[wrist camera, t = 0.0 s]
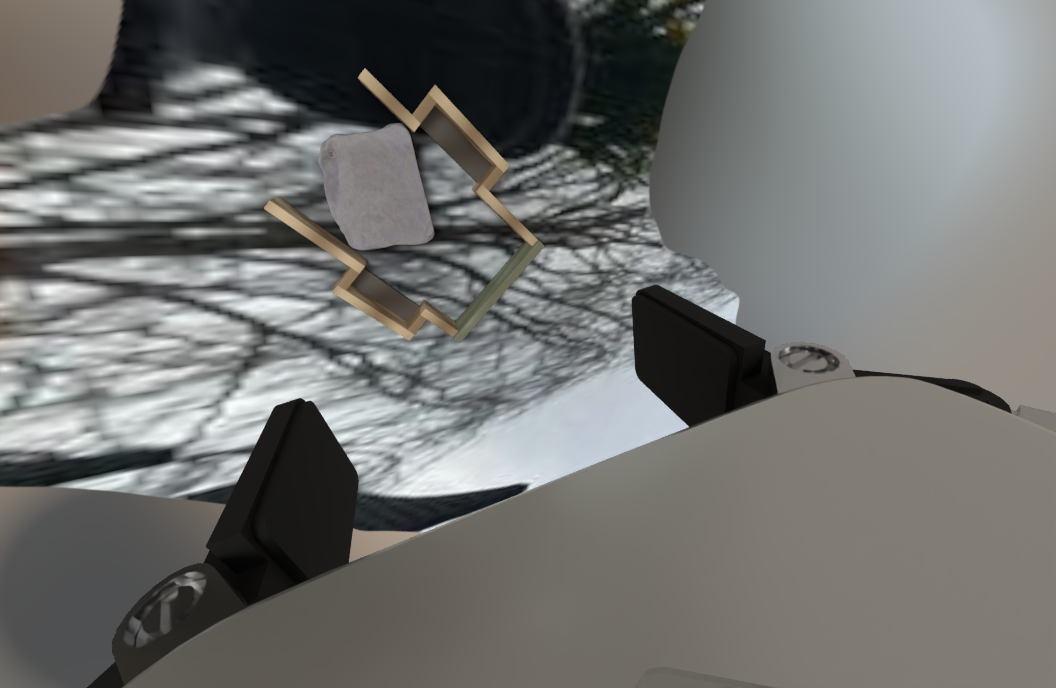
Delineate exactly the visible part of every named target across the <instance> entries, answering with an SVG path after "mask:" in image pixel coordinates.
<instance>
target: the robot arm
mask: <svg viewBox="0 0 1056 688" xmlns="http://www.w3.org/2000/svg"><path fill="white" fill-rule="evenodd" d="M632 317H633V336H634V355H635V370H636V374H637V376H638V378H639V379H640V381H641V382H643V383H644V384H645V385H646V386H647V387H648V388H649V389H650V390H651V391H652V392H653V393H654V394H655V395H656V396H657V397H658V398H659V399H660V400H662V401H663V402H664V403H665V404H666V405H667V406H668V407H669V408H670V409H671V410H672V411H673V412H674V413H675V414H676V415H677V416H678V417H679V418H681V419H682V420H683V421H684V422H685V423H686V424H687V425H688V426H689V427H688V428H686V429H683V430H681V431H678V432H676V433H673V434H670V435H668V436H665V437H663V438H660V439H658V440H655V441H653V442H650V443H647V444H645V445H642V446H640V447H637V448H635V449H632V450H630V451H627V452H624V453H622V454H619V455H617V456H614V457H612V458H609V459H607V460H604V461H602V462H599V463H596V464H594V465H591V466H589V467H586V468H584V469H581V470H579V471H576V472H574V473H571V474H569V475H566V476H564V477H561V478H559V479H556V480H554V481H551V482H549V483H546V484H544V485H541V486H539V487H536V488H534V489H531V490H529V491H526V492H524V493H521V494H519V495H516V496H513V497H511V498H508V499H506V500H503V501H501V502H498V503H496V504H493V505H491V506H488V507H486V508H483V509H481V510H479V511H476V512H474V513H471V514H469V515H466V516H464V517H461V518H459V519H456V520H454V521H451V522H449V523H446V524H444V525H441V526H439V527H436V528H434V529H432V530H429V531H427V532H424V533H422V534H419V535H417V536H414V537H412V538H409V539H407V540H404V541H402V542H399V543H397V544H394V545H392V546H390V547H387V548H384V549H382V550H380V551H377V552H375V553H372V554H370V555H367V556H365V557H362V558H360V559H357V560H355V561H353V562H350V563H349V555H350V547H351V539H352V532H353V524H354V516H355V508H356V500H357V492H358V483H359V480H358V475H357V472H356V470H355V468H354V466H353V465H352V463H351V462H350V460H349V458H348V457H347V455H346V453H345V452H344V450H343V449H342V447H341V445H340V444H339V442H338V441H337V439H336V437H335V436H334V434H333V433H332V431H331V429H330V428H329V426H328V425H327V423H326V421H325V420H324V418H323V417H322V415H321V413H320V412H319V410H318V409H317V407H316V405H315V404H314V403H313V402H312V401H307V402H305V401H304V400H303V399H301V398H299V399H296V400H292V401H289V402H286V403H283V404H280V405H277V406H275V407H274V409H273V411H272V413H271V415H270V417H269V419H268V421H267V423H266V425H265V427H264V429H263V431H262V433H261V435H260V437H259V439H258V441H257V443H256V445H255V448H254V450H253V452H252V454H251V456H250V458H249V460H248V462H247V464H246V466H245V468H244V470H243V472H242V474H241V476H240V478H239V480H238V482H237V484H236V486H235V488H234V490H233V492H232V494H231V496H230V498H229V500H228V502H227V504H226V506H225V509H224V510H223V512H222V514H221V516H220V519H219V521H218V523H217V525H216V527H215V529H214V531H213V533H212V535H211V537H210V539H209V541H208V543H207V545H206V547H207V548H208V549H209V550H210V551H209V553H208V555H207V557H206V559H205V561H204V563H197V564H194V565H191V566H187V567H184V568H182V569H180V570H179V571H177V572H175V573H173V574H171V575H169V576H168V577H167V578H165V579H164V580H162V581H161V582H159V583H158V584H156V585H155V586H154V587H153V588H152V589H151V590H149V591H148V592H147V593H146V594H145V595H144V596H143V597H142V598H140V599H139V601H138V602H137V603H136V604H135V605H134V606H133V607H132V608H131V610H130V611H129V612H128V613H127V614H126V616H125V617H124V619H123V621H122V622H121V624H120V625H119V627H118V628H117V631H116V633H115V635H114V638H113V641H112V653H113V656H114V659H115V663H114V664H112V665H111V666H110V667H109V668H108V669H107V670H106V671H105V672H104V673H103V674H102V675H100V676H99V677H98V678H97V679H96V680H95V681H94V682H93V683H92V684H91V685H89V686H88V687H87V688H1056V413H1053V412H1049V411H1044V410H1040V409H1036V408H1031V407H1026V406H1022V405H1020V406H1019V408H1018V409H1017V411H1013V410H1011V409H1010V407H1009V405H1008V404H1007V403H1006V402H1005V401H1004V400H1003V399H1001V398H1000V397H998V396H997V395H995V394H993V393H992V392H990V391H988V390H985V389H983V388H981V387H980V386H977V385H975V384H973V383H970V382H966V381H963V380H957V379H943V378H933V377H922V376H912V375H902V374H892V373H881V372H871V371H861V370H852V368H851V366H850V364H849V362H848V360H847V359H846V358H845V357H844V355H842V354H841V353H839V352H838V351H836V350H834V349H831V348H829V347H826V346H823V345H819V344H815V343H806V342H792V343H786V344H782V345H780V346H778V347H776V348H774V350H773V351H772V352H771V353H770V352H768V351H766V350H764V349H765V342H766V340H764V339H762V338H760V337H758V336H756V335H754V334H752V333H750V332H748V331H746V330H744V329H742V328H740V327H739V326H737V325H735V324H733V323H731V322H729V321H727V320H725V319H723V318H721V317H719V316H717V315H715V314H713V313H711V312H709V311H707V310H705V309H703V308H701V307H700V306H698V305H696V304H694V303H692V302H690V301H688V300H686V299H684V298H682V297H680V296H678V295H676V294H674V293H672V292H670V291H668V290H666V289H664V288H663V287H661V286H659V285H653V286H650V287H647V288H644V289H641V290H638V291H637V292H636V296H634V297H633V298H632Z"/></svg>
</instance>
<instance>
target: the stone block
mask: <svg viewBox="0 0 1056 688" xmlns="http://www.w3.org/2000/svg"><path fill="white" fill-rule="evenodd" d="M318 161H319V165H320V167H321V169H322V171H323V176H324V188H325V194H326V198H327V201H328V203H329V208H330V211H331V214H332V216H333V218H334V220H335V221H336V223H337V224H338V225H339V226H340V230H341V231H342V233H343V234H344V235H345V238H346V239H347V241H348V244H349V245H350V246H351V247H352V248H355V249H358V250H372V249H378V248H386V247H388V246H392V245H408V244H409V245H417V244H423V243H427V242H428V241H430V240H431V239H432V238H433V236H434V229H433V225H432V221H431V217H430V213H429V208H428V204H427V200H426V197H425V193H424V189H423V185H422V181H421V178H420V173H419V169H418V165H417V161H416V157H415V152H414V147H413V144H412V140H411V136H410V133H409V131H408V129H407V128H406V127H405V126H404V125H403V124H402V123H394V124H389V125H387V126H385V127H384V128H382V129H380V130H374V131H372V132H365V133H360V134H351V135H344V134H335V135H332V136H331V137H330V138H329V139H327V140H326V141H324V142H323V143H322V146H321V149H320V153H319V156H318Z"/></svg>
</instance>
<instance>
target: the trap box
mask: <svg viewBox="0 0 1056 688" xmlns="http://www.w3.org/2000/svg"><path fill="white" fill-rule="evenodd" d="M358 78H359V80H360V82H361V83H362V84H363V85H364V86H365V87H366V88H367V89H368V90H369V91H370V92H371V93H372V94H373V95H374V96H375V97H376V98H377V99H378V100H379V101H380V102H381V103H382V104H384V105H385V106H386V107H387V108H388V109H389V110H390V111H391V112H392V113H393V114H394V115H395V116H396V117H397V118H398V119H399V120H400V121H401V122H402V123H403V124H404V125H405V126H406V127H407V128H408V129H409V130H410V131H411V132H413V133H414V132H415V130H416V129H417V128H418V127H419V126H420V127H421V128H422V129H423V130H424V131H425V132H426V133H427V134H428V135H429V136H430V137H431V138H432V139H433V140H434V141H435V142H437V143H438V144H439V145H440V146H441V147H442V148H443V149H444V150H445V151H446V152H447V153H448V154H449V155H450V156H451V157H452V158H453V159H454V160H455V161H456V162H457V163H458V164H459V165H460V166H461V167H462V168H463V169H464V170H465V171H466V172H467V173H468V174H469V175H470V176H471V177H472V178H473V179H474V180H475V181H476V182H477V183H476V185H475V186H474V187H473V188H472V190H473V191H474V192H475V193H476V194H477V195H478V196H479V197H480V198H481V199H482V200H483V201H484V202H485V203H486V204H487V205H488V206H489V207H490V208H491V209H492V210H493V211H494V212H495V213H496V214H497V215H498V216H499V217H501V218H502V219H503V220H504V221H505V222H506V223H507V224H508V225H509V226H510V227H511V228H512V229H513V230H514V231H515V232H516V233H517V234H518V235H519V236H520V237H521V238H522V239H523V240H524V241H525V242H524V243H523V244H522V245H521V247H520V248H519V249H518V250H517V251H516V252H515V253H514V255H513V256H512V257H511V258H510V259H509V260H508V262H507V263H506V264H505V265H504V266H503V267H502V269H501V270H500V271H499V272H498V273H497V274H496V275H495V277H494V278H493V279H492V280H491V281H490V282H489V284H488V285H487V286H486V287H485V288H484V289H483V290H482V292H481V293H480V294H479V295H478V296H477V297H476V299H475V300H474V301H473V302H472V303H471V304H470V306H469V307H468V308H467V309H466V310H465V311H464V312H463V314H462V315H461V316H460V317H459V318H458V319H457V321H456V322H454V321H453V320H452V319H450V318H449V317H447V316H446V315H445V314H443V313H442V312H440V311H439V310H437V309H436V308H435V307H433V306H432V305H430V304H429V303H428V302H426V301H425V300H424V301H423V302H422V303H421V305H420V306H419V305H417V304H416V303H414V302H413V301H411V300H410V299H408V298H407V297H405V296H404V295H403V294H401V293H400V292H398V291H397V290H395V289H394V288H392V287H391V286H390V285H388V284H387V283H385V282H384V281H382V280H381V279H379V278H378V277H377V276H375V275H374V274H372V273H371V272H369V271H368V270H366V269H365V268H364V267H365V265H366V262H367V259H365V258H364V257H362V256H361V255H360V254H358V253H357V252H355V251H354V250H353V249H351V248H350V247H348V246H347V245H345V244H344V243H343V242H341V241H340V240H338V239H337V238H336V237H334V236H333V235H331V234H330V233H329V232H327V231H326V230H324V229H323V228H321V227H320V226H319V225H317V224H316V223H314V222H313V221H312V220H310V219H309V218H307V217H306V216H304V215H303V214H302V213H300V212H299V211H297V210H296V209H295V208H293V207H292V206H290V205H289V204H287V203H286V202H285V201H283V200H282V199H280V198H279V197H277V198H275V199H272V200H270V201H269V202H268V203H267V205H266V206H265V208H264V209H265V210H267V211H268V212H270V213H271V214H273V215H274V216H275V217H277V218H278V219H280V220H281V221H283V222H284V223H286V224H287V225H289V226H290V227H292V228H293V229H295V230H296V231H298V232H299V233H301V234H302V235H303V236H305V237H306V238H308V239H309V240H311V241H312V242H314V243H315V244H317V245H318V246H320V247H321V248H323V249H324V250H326V251H327V252H329V253H330V254H331V255H333V256H334V257H336V258H337V259H339V260H340V261H342V262H343V263H345V264H346V265H348V266H349V268H348V269H347V270H346V272H345V273H344V274H343V275H342V277H341V278H340V279H339V281H338V282H337V283H336V285H335V287H334V289H333V291H332V293H334V294H336V295H337V296H339V297H340V298H342V299H344V300H345V301H347V302H348V303H350V304H352V305H353V306H355V307H356V308H358V309H360V310H361V311H363V312H364V313H366V314H368V315H369V316H371V317H373V318H374V319H376V320H377V321H379V322H381V323H382V324H384V325H385V326H387V327H389V328H390V329H392V330H393V331H395V332H397V333H398V334H400V335H401V336H403V337H405V338H406V339H408V340H410V339H411V338H412V337H413V336H414V335H415V333H416V332H417V331H418V330H419V329H420V327H421V326H422V325H423V324H424V323H425V322H426V320H429V321H430V322H432V323H433V324H435V325H436V326H438V327H439V328H441V329H442V330H444V331H445V332H446V333H448V334H449V335H451V336H452V337H453V338H454V339H455V340H456V341H458V342H459V343H460V342H461V341H462V340H463V339H464V338H465V336H466V335H467V334H468V333H469V332H470V331H471V330H472V328H473V327H474V326H475V325H476V324H477V323H478V322H479V320H480V319H481V318H482V317H483V316H484V315H485V314H486V312H487V311H488V310H489V309H490V308H491V307H492V306H493V304H494V303H495V302H496V301H497V300H498V299H499V298H500V297H501V295H502V294H503V293H504V292H505V291H506V290H507V289H508V287H509V286H510V285H511V284H512V283H513V282H514V281H515V279H516V278H517V277H518V276H519V275H520V274H521V273H522V271H523V270H524V269H525V268H526V267H527V266H528V265H529V263H530V262H531V261H532V260H533V259H534V258H535V257H536V255H537V254H538V253H539V252H540V251H541V250H542V249H543V247H544V245H543V244H542V243H541V242H540V241H539V240H537V239H536V238H535V237H534V236H533V235H532V234H531V233H530V232H529V231H528V230H527V229H526V228H525V227H524V226H523V225H522V224H521V223H520V222H519V221H518V220H517V219H516V218H515V217H514V216H513V215H512V214H511V213H510V212H509V211H508V210H507V209H506V208H505V207H504V206H503V205H502V204H501V203H500V202H499V201H498V200H497V199H496V198H495V197H494V196H493V195H492V194H491V193H490V192H489V190H490V189H491V188H492V187H493V186H494V184H495V183H496V182H497V181H498V180H499V178H500V177H501V176H502V175H503V174H504V172H505V171H506V170H507V169H508V167H509V166H510V165H509V164H508V163H507V162H506V161H505V160H504V159H503V158H502V157H501V156H500V155H499V153H498V152H497V151H496V150H495V149H494V148H493V147H492V146H491V145H490V144H489V143H488V142H487V140H486V139H485V138H484V137H483V136H482V135H481V134H480V133H479V132H478V131H477V130H476V129H475V127H474V126H473V125H472V124H471V123H470V122H469V121H468V120H467V119H466V118H465V117H464V116H463V114H462V113H461V112H460V111H459V110H458V109H457V108H456V107H455V106H454V105H453V104H452V103H451V101H450V100H449V99H448V98H447V97H446V96H445V95H444V94H443V93H442V92H441V91H440V90H439V88H438V87H437V86H436V85H434V87H433V88H432V89H431V91H430V92H429V93H428V95H427V96H426V97H425V99H424V100H423V101H422V102H421V104H420V105H419V106H418V108H417V109H416V110H415V112H414V113H413V114H411V113H410V112H409V111H408V110H407V109H405V108H404V107H403V106H402V105H401V104H400V103H399V102H398V101H397V100H396V99H395V98H394V97H393V96H392V95H391V94H390V93H389V92H388V91H387V90H386V89H385V88H384V87H383V86H382V85H381V84H380V83H379V82H378V81H377V80H376V79H375V78H374V77H373V76H372V75H371V74H370V73H369V72H368V71H367V70H366V69H365V68H364V70H363V71H362V73H361V74H360V75H359V77H358Z"/></svg>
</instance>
